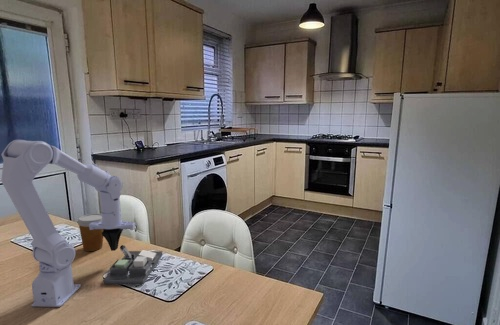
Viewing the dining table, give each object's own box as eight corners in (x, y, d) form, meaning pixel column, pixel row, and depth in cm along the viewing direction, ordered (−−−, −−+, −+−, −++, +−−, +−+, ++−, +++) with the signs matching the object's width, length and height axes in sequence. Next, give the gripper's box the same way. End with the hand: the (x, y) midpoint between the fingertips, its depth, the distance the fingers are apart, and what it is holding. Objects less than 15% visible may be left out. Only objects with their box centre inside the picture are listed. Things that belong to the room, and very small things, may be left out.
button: (124, 270, 90) (124, 264, 90) (115, 270, 90) (114, 264, 90) (128, 265, 93) (128, 259, 93) (119, 265, 93) (119, 259, 93)
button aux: (143, 267, 90) (142, 261, 90) (133, 267, 90) (133, 261, 90) (146, 262, 93) (146, 256, 93) (137, 262, 93) (137, 256, 93)
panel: (143, 284, 86) (143, 274, 86) (103, 284, 86) (102, 274, 86) (162, 255, 104) (162, 246, 103) (129, 254, 104) (128, 246, 104)
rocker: (152, 260, 96) (152, 258, 96) (138, 257, 96) (138, 254, 96) (155, 255, 99) (156, 253, 99) (142, 251, 99) (142, 249, 99)
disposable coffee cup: (90, 255, 103) (89, 222, 102) (72, 249, 107) (71, 218, 105) (112, 245, 112) (111, 215, 110) (95, 240, 116) (94, 211, 114)
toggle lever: (131, 258, 97) (122, 245, 96) (127, 260, 97) (118, 247, 96) (133, 256, 99) (124, 243, 98) (129, 258, 99) (120, 245, 98)
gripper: (137, 206, 99) (140, 243, 101) (95, 206, 99) (99, 243, 101) (129, 214, 92) (132, 253, 94) (83, 213, 92) (88, 253, 94)
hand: (114, 249), depth 97 cm, fingers closed
